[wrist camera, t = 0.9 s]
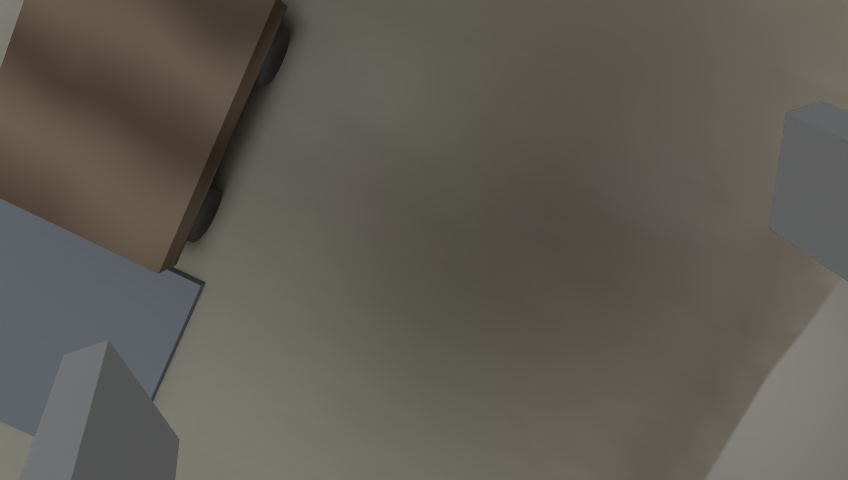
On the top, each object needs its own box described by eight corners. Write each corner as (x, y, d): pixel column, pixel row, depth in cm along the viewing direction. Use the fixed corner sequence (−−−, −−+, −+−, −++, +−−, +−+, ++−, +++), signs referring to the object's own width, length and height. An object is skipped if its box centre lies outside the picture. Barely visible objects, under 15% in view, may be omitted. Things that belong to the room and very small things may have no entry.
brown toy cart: (123, -75, 31) (63, -113, 26) (301, 17, 31) (276, -3, 26) (32, 171, 33) (-39, 180, 28) (198, 252, 34) (158, 273, 29)
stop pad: (6, 188, 33) (-2, 189, 33) (205, 283, 34) (200, 285, 33) (-66, 383, 36) (-74, 387, 35) (122, 468, 36) (117, 473, 36)
